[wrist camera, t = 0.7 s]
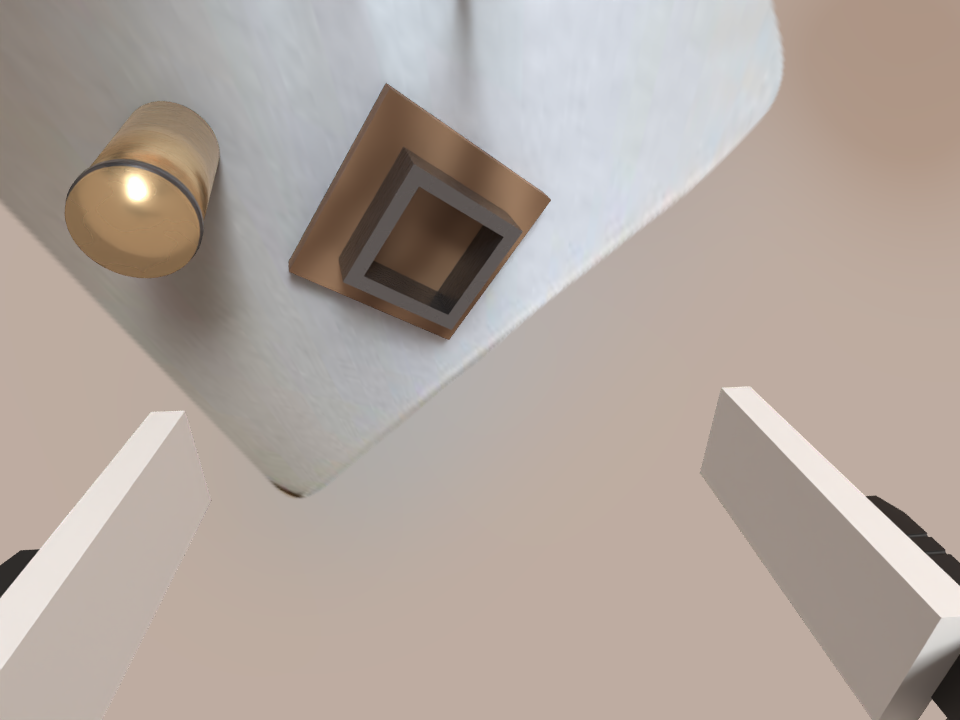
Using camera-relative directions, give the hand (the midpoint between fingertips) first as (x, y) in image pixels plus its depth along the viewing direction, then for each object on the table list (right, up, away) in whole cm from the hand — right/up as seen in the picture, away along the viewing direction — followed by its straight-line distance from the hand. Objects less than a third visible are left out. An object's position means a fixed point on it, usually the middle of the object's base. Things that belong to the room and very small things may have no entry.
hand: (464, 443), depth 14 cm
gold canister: (-18, +15, +19) cm, 30 cm away
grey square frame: (-4, +11, +26) cm, 28 cm away
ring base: (-4, +12, +27) cm, 30 cm away
